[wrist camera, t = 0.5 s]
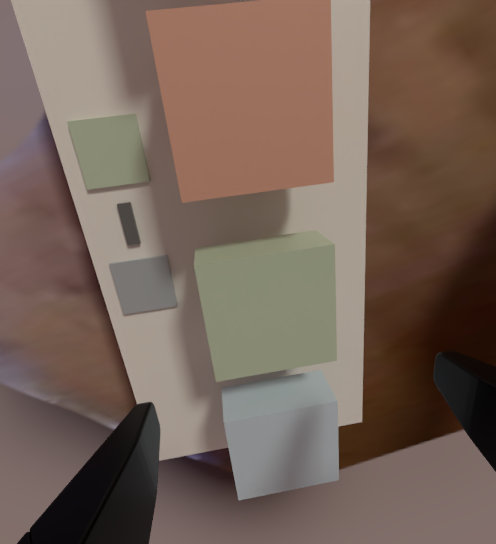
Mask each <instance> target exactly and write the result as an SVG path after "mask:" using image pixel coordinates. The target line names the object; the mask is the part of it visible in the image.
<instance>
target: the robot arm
mask: <svg viewBox="0 0 496 544" xmlns="http://www.w3.org/2000/svg"><path fill="white" fill-rule="evenodd" d="M433 377H434V382H435V384H436V386H437V387H438V389H439V391H440V392H441V394H442V395H443V397H444V399H445V400H446V402H447V403H448V405H449V406H450V408H451V410H452V411H453V413H454V414H455V416H456V418H457V419H458V421H459V422H460V424H461V425H462V427H463V428H464V430H465V431H466V433H467V434H468V436H469V437H470V439H471V440H472V441H473V443H474V444H475V445H476V447H478V449H479V450H480V452H481V453H482V454H483V456H484V457H485V458H486V460H487V461H488V462H489V464H490V465H491V466H492V467H493V469H494V470H495V471H496V367H495V366H492V365H490V364H487V363H484V362H482V361H479V360H476V359H474V358H471V357H469V356H466V355H463V354H461V353H458V352H455V351H445V352H439V353H438V354H437V355H436V358H435V366H434V374H433ZM160 433H161V432H160V423H159V420H158V416H157V413H156V409H155V406H154V404H153V403H152V402H145V403H139V404H137V405H136V406H135V407H134V408H133V409H132V410H131V411H130V412H129V414H128V415H127V416H126V417H125V418H124V419H123V421H122V422H121V423H120V424H119V425H118V426H117V428H116V429H115V430H114V431H113V432H112V433H111V435H110V436H109V437H108V438H107V440H105V442H104V443H103V444H102V445H101V446H100V447H99V449H98V450H97V451H96V452H95V453H94V454H93V456H92V457H91V458H90V459H89V460H88V461H87V463H86V464H85V465H84V466H83V467H82V468H81V470H80V471H79V472H78V473H77V474H76V475H75V477H74V478H73V479H72V480H71V481H70V482H69V484H68V485H67V486H66V487H65V488H64V489H63V491H62V492H61V493H60V494H59V495H58V497H57V498H56V499H55V500H54V501H53V502H52V503H51V505H50V506H49V507H48V508H47V509H46V511H45V512H44V513H43V514H42V515H41V516H40V517H39V519H38V520H37V521H36V522H35V523H34V524H33V526H32V527H31V528H30V532H27V533H26V534H25V535H24V536H23V537H22V538H21V539H20V541H19V542H18V543H17V544H149V538H150V532H151V526H152V520H153V514H154V508H155V502H156V494H157V483H158V466H159V450H160Z"/></svg>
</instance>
